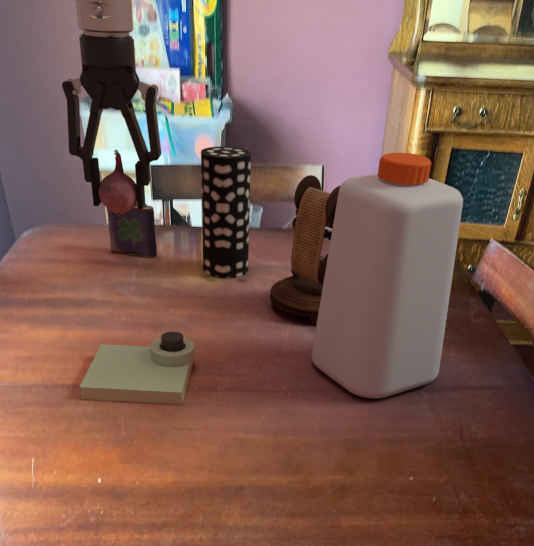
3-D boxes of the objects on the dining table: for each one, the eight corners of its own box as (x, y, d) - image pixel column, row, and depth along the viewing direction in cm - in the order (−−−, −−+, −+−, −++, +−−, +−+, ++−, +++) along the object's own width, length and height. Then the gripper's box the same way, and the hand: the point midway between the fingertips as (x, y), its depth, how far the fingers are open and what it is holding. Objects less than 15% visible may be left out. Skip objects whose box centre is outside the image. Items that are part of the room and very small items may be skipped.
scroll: (251, 303, 113) (255, 176, 101) (314, 283, 121) (324, 163, 109) (313, 334, 104) (325, 200, 92) (376, 311, 112) (395, 184, 100)
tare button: (159, 352, 91) (159, 340, 90) (163, 342, 93) (162, 330, 92) (182, 353, 91) (181, 341, 90) (185, 343, 93) (184, 331, 92)
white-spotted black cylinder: (194, 267, 125) (191, 149, 113) (229, 258, 129) (230, 144, 117) (221, 281, 120) (220, 160, 108) (257, 271, 124) (261, 154, 112)
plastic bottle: (449, 382, 94) (500, 166, 77) (364, 408, 87) (398, 179, 70) (380, 338, 104) (411, 139, 87) (299, 359, 97) (316, 148, 81)
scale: (80, 399, 86) (77, 375, 84) (103, 354, 96) (100, 332, 94) (185, 405, 86) (185, 381, 84) (197, 359, 96) (196, 337, 94)
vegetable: (148, 217, 110) (144, 150, 104) (121, 225, 106) (116, 157, 100) (120, 209, 113) (115, 143, 107) (93, 217, 108) (86, 150, 102)
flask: (108, 252, 129) (103, 193, 123) (115, 247, 131) (110, 189, 125) (154, 258, 127) (151, 199, 121) (160, 253, 130) (157, 195, 123)
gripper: (28, 31, 91) (52, 208, 105) (171, 40, 91) (176, 215, 105) (45, 26, 97) (65, 194, 111) (179, 35, 97) (182, 202, 111)
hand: (119, 204), depth 108 cm, fingers closed on vegetable, 6 cm apart
